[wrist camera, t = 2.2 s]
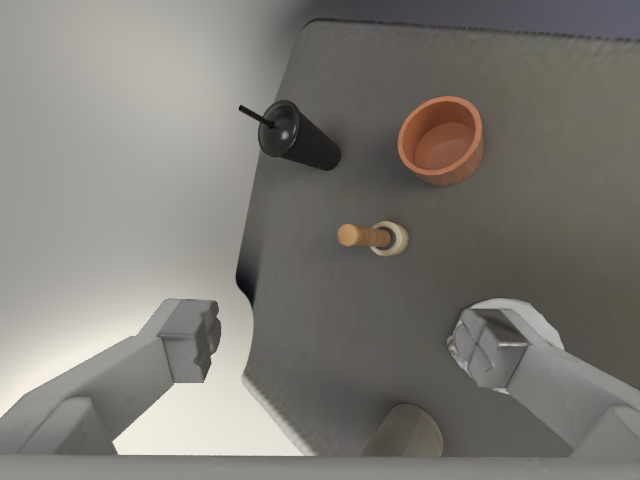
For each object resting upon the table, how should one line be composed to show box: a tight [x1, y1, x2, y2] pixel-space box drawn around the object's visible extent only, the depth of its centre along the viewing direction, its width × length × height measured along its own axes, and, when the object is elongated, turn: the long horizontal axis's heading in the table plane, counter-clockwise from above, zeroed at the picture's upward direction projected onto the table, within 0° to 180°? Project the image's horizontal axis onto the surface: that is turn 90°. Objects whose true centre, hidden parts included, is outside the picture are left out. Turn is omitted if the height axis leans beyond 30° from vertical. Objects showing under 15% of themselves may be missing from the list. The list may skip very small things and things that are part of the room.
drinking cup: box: [239, 100, 341, 170], centre depth 40 cm, size 8×8×20 cm
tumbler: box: [398, 96, 484, 186], centre depth 35 cm, size 9×9×7 cm
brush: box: [338, 221, 409, 256], centre depth 35 cm, size 5×5×15 cm
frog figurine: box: [447, 298, 564, 394], centre depth 32 cm, size 12×12×4 cm
